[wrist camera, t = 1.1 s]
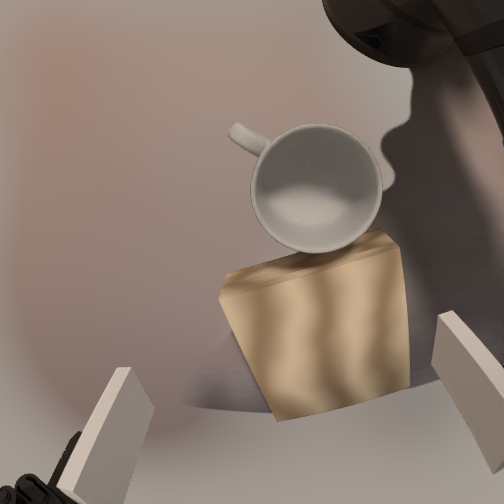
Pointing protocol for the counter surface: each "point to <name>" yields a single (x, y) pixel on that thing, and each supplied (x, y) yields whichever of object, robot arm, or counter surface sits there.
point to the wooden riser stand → (323, 326)
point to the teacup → (312, 185)
